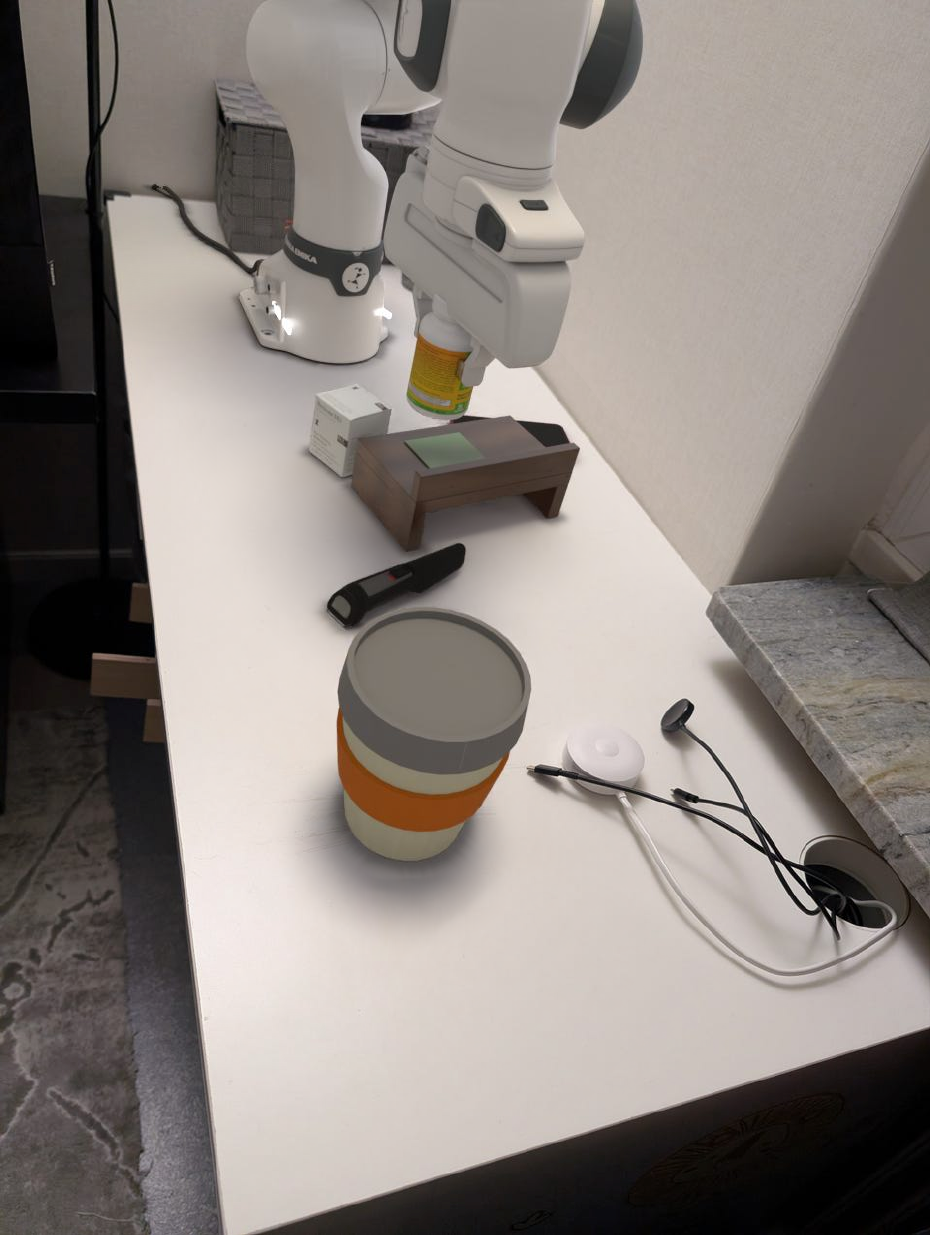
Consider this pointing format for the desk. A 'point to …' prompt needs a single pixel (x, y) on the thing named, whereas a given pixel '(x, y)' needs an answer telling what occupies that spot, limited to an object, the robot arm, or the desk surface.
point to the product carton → (345, 425)
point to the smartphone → (532, 430)
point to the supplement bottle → (439, 366)
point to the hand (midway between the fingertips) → (446, 361)
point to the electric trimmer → (394, 584)
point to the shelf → (457, 472)
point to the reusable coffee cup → (425, 726)
